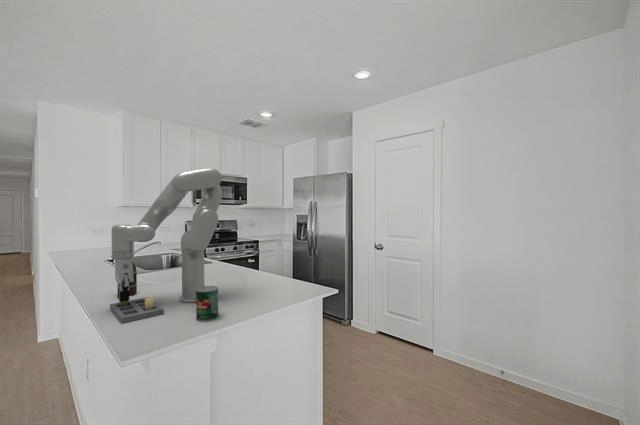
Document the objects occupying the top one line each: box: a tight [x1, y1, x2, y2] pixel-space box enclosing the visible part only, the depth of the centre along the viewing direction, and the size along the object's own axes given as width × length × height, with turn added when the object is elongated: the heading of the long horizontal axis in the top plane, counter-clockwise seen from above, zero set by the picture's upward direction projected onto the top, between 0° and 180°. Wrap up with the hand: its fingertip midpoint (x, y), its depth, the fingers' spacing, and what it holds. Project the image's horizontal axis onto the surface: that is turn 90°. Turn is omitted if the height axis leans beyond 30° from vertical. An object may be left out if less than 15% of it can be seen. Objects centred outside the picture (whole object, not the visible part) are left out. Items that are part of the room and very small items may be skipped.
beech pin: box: [118, 285, 129, 307], centre depth 121 cm, size 3×3×10 cm
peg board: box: [109, 296, 165, 325], centre depth 119 cm, size 22×14×6 cm, turn 44°
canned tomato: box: [195, 285, 219, 322], centre depth 113 cm, size 8×8×11 cm
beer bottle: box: [116, 261, 138, 297], centre depth 142 cm, size 8×8×24 cm
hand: (123, 299), depth 121 cm, fingers open, 3 cm apart
